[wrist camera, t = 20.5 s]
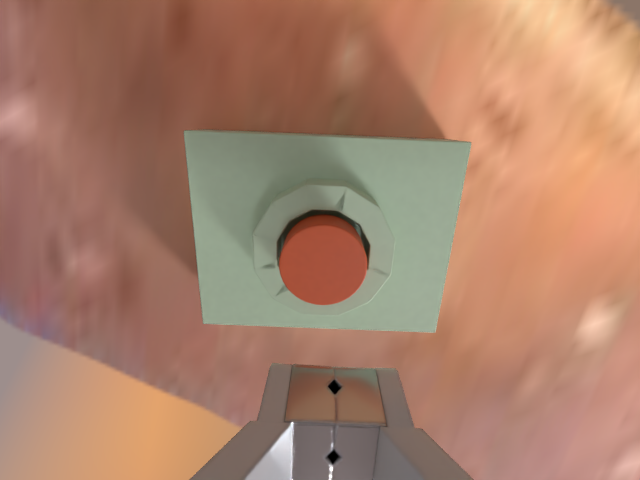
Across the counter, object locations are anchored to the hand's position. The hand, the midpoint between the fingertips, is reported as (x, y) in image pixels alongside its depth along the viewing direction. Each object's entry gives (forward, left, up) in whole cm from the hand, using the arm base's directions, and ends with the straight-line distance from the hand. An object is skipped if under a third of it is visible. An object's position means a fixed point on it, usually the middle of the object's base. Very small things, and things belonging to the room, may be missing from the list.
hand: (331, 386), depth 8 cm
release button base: (0, 0, -13) cm, 13 cm away
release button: (0, 0, -9) cm, 9 cm away
